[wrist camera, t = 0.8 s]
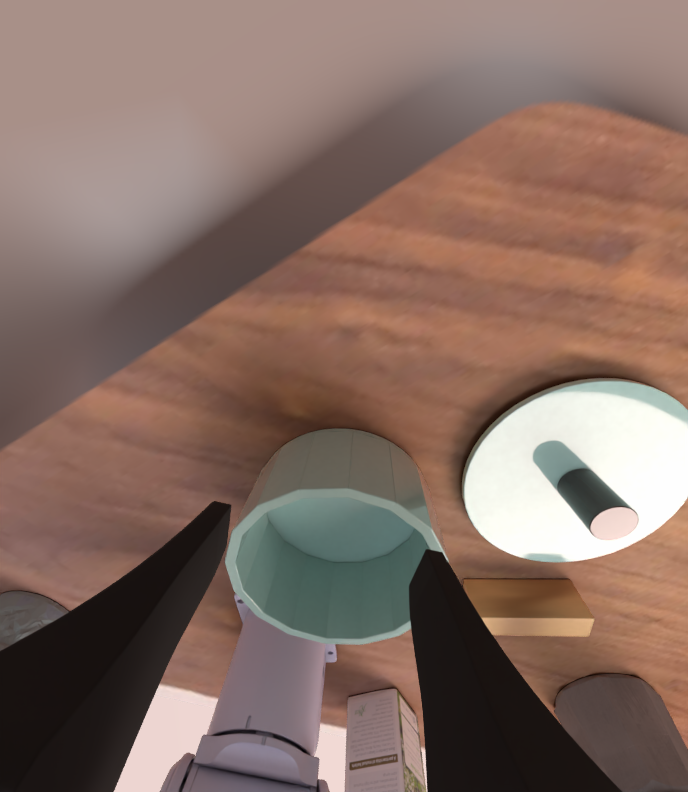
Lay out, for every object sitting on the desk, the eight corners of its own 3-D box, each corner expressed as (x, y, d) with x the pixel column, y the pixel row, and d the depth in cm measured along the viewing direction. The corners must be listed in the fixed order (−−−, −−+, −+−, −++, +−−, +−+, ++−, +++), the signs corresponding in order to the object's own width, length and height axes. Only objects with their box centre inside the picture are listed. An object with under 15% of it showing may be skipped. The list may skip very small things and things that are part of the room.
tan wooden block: (570, 578, 25) (595, 618, 22) (565, 596, 26) (589, 637, 23) (463, 578, 26) (475, 617, 23) (462, 595, 27) (473, 635, 24)
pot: (426, 562, 25) (443, 646, 20) (273, 562, 26) (250, 643, 21) (430, 423, 20) (453, 485, 15) (243, 431, 22) (201, 491, 16)
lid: (650, 548, 23) (709, 610, 19) (453, 550, 25) (471, 608, 21) (722, 367, 18) (825, 399, 14) (465, 380, 19) (492, 414, 15)
